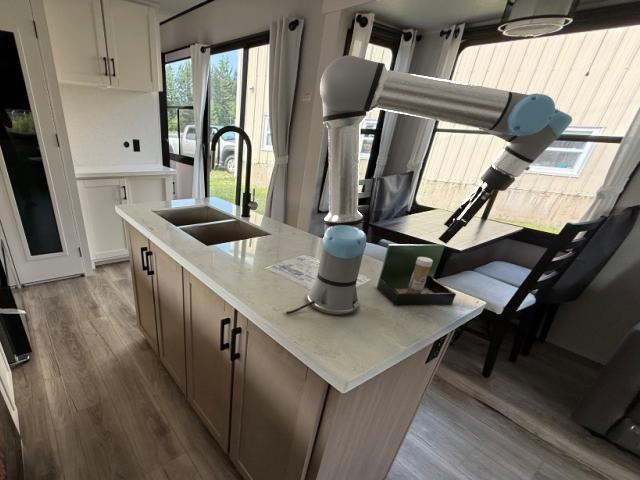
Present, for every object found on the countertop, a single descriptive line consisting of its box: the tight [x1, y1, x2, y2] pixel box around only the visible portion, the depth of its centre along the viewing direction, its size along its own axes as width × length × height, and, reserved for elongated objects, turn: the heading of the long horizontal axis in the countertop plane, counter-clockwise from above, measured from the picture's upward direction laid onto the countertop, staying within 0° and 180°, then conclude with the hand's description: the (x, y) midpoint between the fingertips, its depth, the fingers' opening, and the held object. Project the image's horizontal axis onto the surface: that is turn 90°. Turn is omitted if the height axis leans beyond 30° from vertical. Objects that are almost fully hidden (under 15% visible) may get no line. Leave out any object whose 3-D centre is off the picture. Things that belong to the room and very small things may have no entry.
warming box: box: [376, 243, 457, 307], centre depth 106 cm, size 20×13×16 cm, turn 96°
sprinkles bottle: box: [405, 257, 433, 293], centre depth 107 cm, size 5×5×13 cm
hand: (444, 233), depth 102 cm, fingers open, 13 cm apart
